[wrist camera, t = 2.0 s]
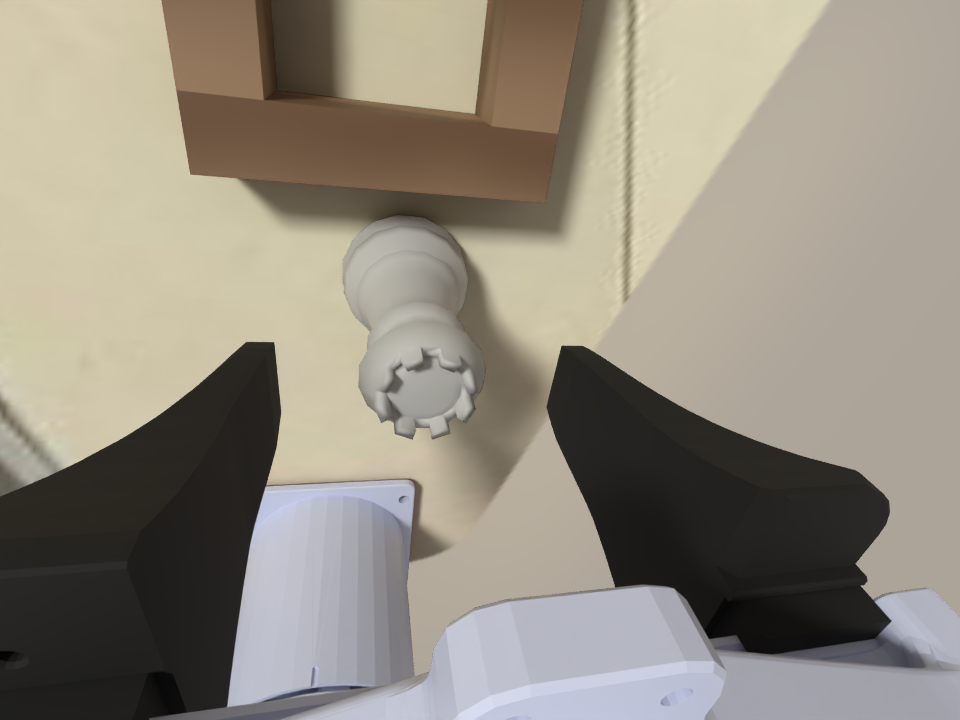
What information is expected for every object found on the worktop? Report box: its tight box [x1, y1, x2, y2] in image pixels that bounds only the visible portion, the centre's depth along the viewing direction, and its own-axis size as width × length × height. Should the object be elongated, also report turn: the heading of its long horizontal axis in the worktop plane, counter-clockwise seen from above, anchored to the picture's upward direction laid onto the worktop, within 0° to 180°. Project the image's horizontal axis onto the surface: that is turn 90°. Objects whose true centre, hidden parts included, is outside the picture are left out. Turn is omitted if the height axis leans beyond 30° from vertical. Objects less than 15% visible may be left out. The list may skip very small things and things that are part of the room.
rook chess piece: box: [343, 215, 486, 440], centre depth 15 cm, size 4×4×8 cm
